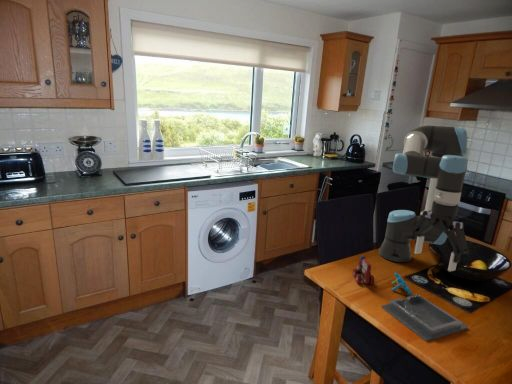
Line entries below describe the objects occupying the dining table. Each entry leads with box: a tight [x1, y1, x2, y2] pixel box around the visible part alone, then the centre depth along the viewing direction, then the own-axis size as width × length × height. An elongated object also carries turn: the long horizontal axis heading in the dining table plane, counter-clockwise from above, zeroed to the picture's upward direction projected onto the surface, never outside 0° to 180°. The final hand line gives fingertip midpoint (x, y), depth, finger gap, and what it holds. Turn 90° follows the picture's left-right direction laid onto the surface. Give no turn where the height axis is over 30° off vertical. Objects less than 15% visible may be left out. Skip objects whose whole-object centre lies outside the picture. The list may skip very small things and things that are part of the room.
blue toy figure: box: [391, 272, 413, 296], centre depth 138 cm, size 11×6×10 cm
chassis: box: [381, 293, 469, 342], centre depth 121 cm, size 20×20×3 cm
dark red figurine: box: [352, 255, 375, 286], centre depth 145 cm, size 7×12×10 cm, turn 178°
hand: (433, 261), depth 117 cm, fingers open, 13 cm apart
